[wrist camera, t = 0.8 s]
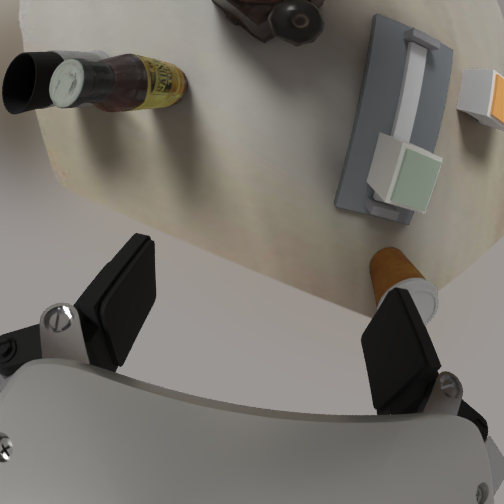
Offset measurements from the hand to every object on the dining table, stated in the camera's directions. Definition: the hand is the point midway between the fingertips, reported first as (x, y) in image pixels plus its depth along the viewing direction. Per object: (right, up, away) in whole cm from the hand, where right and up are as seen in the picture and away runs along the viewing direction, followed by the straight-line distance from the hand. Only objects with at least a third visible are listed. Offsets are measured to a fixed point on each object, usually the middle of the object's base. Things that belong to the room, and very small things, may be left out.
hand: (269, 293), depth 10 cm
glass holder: (-23, +27, +20) cm, 40 cm away
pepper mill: (+3, +32, +14) cm, 35 cm away
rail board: (+19, +19, +19) cm, 33 cm away
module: (+32, +24, +15) cm, 43 cm away
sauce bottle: (-12, +24, +20) cm, 33 cm away
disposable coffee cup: (+21, 0, +31) cm, 38 cm away
